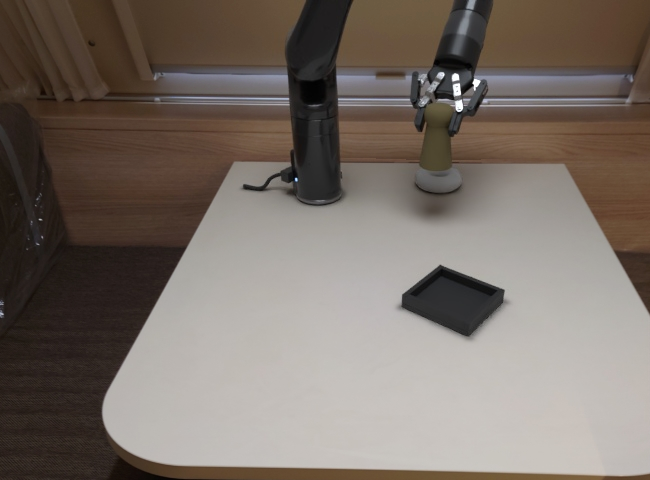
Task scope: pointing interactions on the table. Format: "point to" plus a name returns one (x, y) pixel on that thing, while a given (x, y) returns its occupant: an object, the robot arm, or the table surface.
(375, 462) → the table surface
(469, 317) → the tray
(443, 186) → the donut
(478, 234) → the table surface
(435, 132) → the brown pawn piece
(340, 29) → the robot arm
